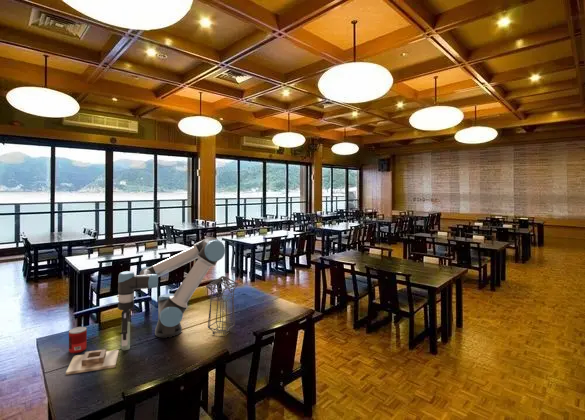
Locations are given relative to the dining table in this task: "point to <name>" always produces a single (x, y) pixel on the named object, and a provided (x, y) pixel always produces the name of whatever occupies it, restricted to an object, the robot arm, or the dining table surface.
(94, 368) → the socket board
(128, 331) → the peg
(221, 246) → the robot arm
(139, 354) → the dining table surface
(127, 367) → the dining table surface
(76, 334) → the canned food
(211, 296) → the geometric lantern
